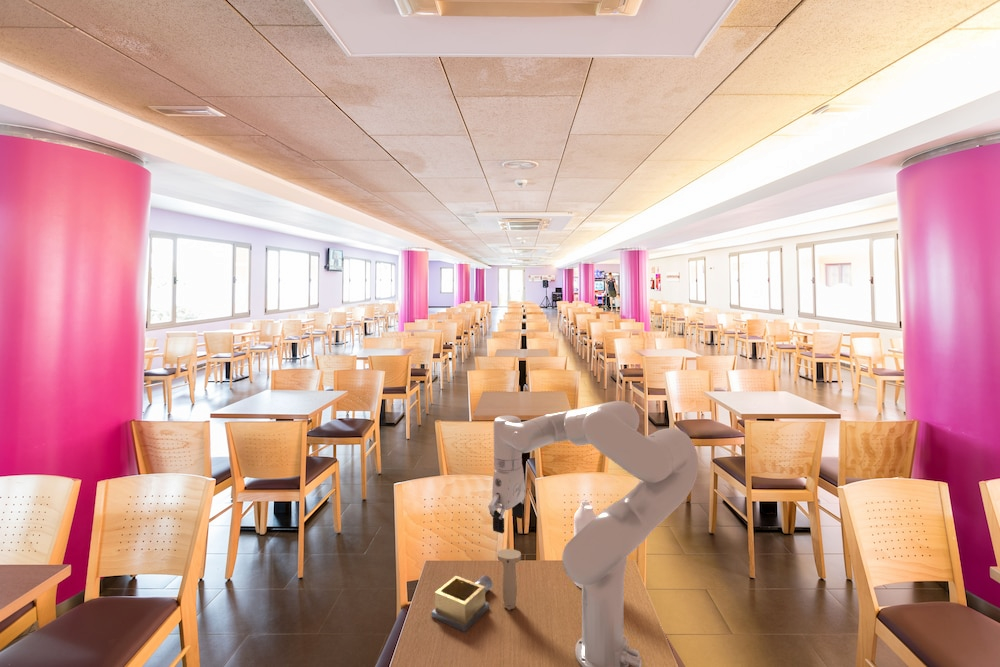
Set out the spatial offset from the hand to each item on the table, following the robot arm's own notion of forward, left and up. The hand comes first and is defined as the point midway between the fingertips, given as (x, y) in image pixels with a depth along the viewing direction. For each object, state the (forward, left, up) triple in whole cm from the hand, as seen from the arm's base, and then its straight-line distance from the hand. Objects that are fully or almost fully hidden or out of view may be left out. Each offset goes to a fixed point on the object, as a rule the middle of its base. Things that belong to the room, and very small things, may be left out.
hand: (508, 524), depth 128 cm
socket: (+10, +6, -23) cm, 26 cm away
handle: (0, 0, -24) cm, 24 cm away
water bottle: (-14, -20, -24) cm, 34 cm away
